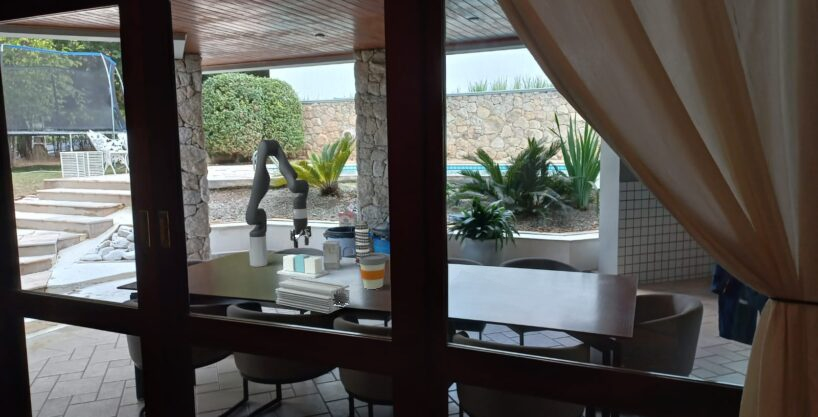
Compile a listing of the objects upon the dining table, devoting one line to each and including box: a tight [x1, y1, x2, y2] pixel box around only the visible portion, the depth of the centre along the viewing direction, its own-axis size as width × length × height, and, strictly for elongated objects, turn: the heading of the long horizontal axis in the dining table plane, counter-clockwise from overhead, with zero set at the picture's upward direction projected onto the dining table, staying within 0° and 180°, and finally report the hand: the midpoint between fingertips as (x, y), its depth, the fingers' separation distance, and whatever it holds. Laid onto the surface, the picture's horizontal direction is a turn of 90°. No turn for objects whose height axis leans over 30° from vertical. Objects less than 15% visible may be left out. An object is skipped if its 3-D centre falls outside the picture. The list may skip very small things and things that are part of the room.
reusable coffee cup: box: [359, 253, 387, 290], centre depth 271 cm, size 13×13×15 cm
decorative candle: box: [353, 219, 371, 266], centre depth 324 cm, size 9×9×25 cm
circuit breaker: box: [322, 240, 343, 271], centre depth 317 cm, size 8×14×15 cm, turn 174°
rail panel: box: [276, 254, 330, 279], centre depth 304 cm, size 26×12×9 cm, turn 60°
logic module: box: [295, 253, 311, 272], centre depth 304 cm, size 6×5×8 cm
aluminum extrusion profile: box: [274, 276, 351, 314], centre depth 246 cm, size 14×31×10 cm, turn 57°
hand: (301, 246), depth 303 cm, fingers open, 8 cm apart
